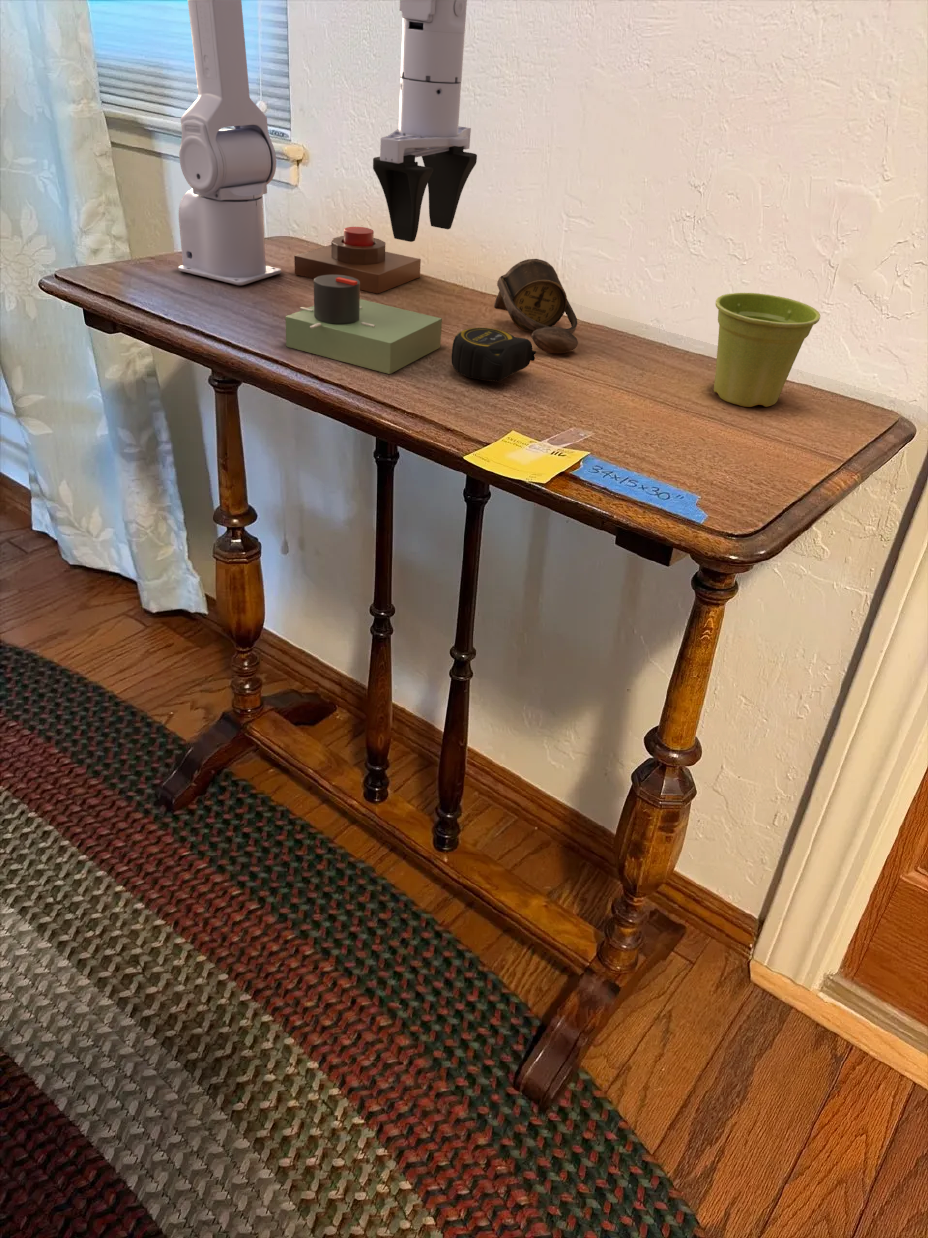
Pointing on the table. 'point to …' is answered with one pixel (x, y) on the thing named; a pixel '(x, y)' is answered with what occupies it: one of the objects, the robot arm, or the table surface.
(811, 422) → the table surface
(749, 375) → the plant pot
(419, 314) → the dial panel
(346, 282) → the dial knob
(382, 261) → the button block
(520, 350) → the tape measure
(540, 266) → the antique clock
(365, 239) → the red button
